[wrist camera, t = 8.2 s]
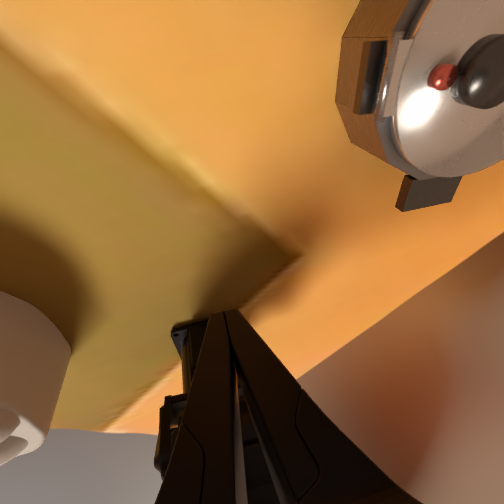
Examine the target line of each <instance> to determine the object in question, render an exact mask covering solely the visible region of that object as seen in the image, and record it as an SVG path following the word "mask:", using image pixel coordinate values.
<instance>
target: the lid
mask: <svg viewBox="0 0 504 504" xmlns="http://www.w3.org/2000/svg"><path fill="white" fill-rule="evenodd" d="M404 34H405V31H395V32H390V33H389V38H388V43H387V48H386V53H385V59H384V64H383V69H382V74H381V79H380V84H379V89H378V94H377V99H376V105H375V110H374V115H373V120H372V123H375V124H382V123H385V119H386V117H387V116H388V117H389V127H390V132H391V136H392V139H393V142H394V144H395V147H396V148H397V150H398V152H399V153H400V155H401V156H402V157H403V158H404V159H405V160H406V161H407V162H408V163H410V164H411V165H413V166H414V167H416V168H418V169H419V170H421V171H423V172H425V173H428V174H430V175H434V176H438V177H457V176H463V175H467V174H471V173H474V172H477V171H480V170H483V169H485V168H487V167H489V166H491V165H494V164H495V163H497V162H499V161H501V160H503V159H504V0H424V2H423V4H422V6H421V7H420V9H419V11H418V13H417V15H416V16H415V18H414V20H413V22H412V24H411V26H410V29H409V31H408V33H407V35H406V37H405V39H403V38H404Z"/></svg>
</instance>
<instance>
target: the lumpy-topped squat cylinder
mask: <svg viewBox="0 0 504 504" xmlns="http://www.w3.org/2000/svg"><path fill="white" fill-rule="evenodd" d="M70 357H71V348H70V345H69V344H68V342H67V341H66V339H65V338H64V336H63V335H62V333H61V332H60V331H59V330H58V328H57V327H56V326H55V325H54V324H53V323H52V322H51V321H50V320H49V319H48V318H47V317H46V316H45V315H44V314H43V313H42V312H41V311H40V310H39V309H37V308H36V307H34V306H33V305H31V304H29V303H27V302H25V301H23V300H21V299H19V298H17V297H14V296H12V295H10V294H7V293H5V292H2V291H0V466H1V465H3V464H5V463H6V462H8V461H10V460H11V459H13V458H14V457H15V456H19V455H23V454H26V453H29V452H31V451H33V450H36V449H37V448H38V447H40V446H41V445H42V444H43V442H44V441H45V439H46V436H47V434H48V431H49V427H50V424H51V421H52V417H53V414H54V411H55V407H56V404H57V401H58V397H59V394H60V390H61V387H62V384H63V380H64V377H65V374H66V370H67V367H68V364H69V360H70Z"/></svg>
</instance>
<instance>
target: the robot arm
mask: <svg viewBox="0 0 504 504" xmlns="http://www.w3.org/2000/svg"><path fill="white" fill-rule="evenodd" d="M171 338H172V340H173V342H174V344H175V346H176V349H177V351H178V353H179V355H180V357H181V359H182V379H183V394H179V395H175V396H172V395H169V396H165V402H164V405H163V406H162V407H161V408H160V422H159V434H158V440H157V446H156V451H155V457H154V466H155V468H156V469H157V470H158V471H159V472H160V473H161V477H162V480H163V482H162V485H161V488H160V491H159V493H158V496H157V499H156V501H155V504H423V503H421V502H420V501H418V500H417V499H415V498H414V497H412V496H411V495H410V494H409V493H407V492H406V491H405V490H404V489H402V488H401V487H400V486H399V485H398V484H396V483H395V482H394V481H393V480H392V479H391V478H390V477H389V476H388V475H386V474H385V473H384V472H383V471H382V470H381V469H380V468H379V467H378V466H377V465H376V464H375V463H374V462H373V461H372V460H371V459H370V458H369V457H368V456H367V455H366V454H365V453H364V452H363V451H362V450H361V449H359V448H358V447H357V446H356V445H355V444H354V443H353V442H352V441H351V440H350V439H349V438H348V437H347V436H346V435H345V434H344V433H343V432H342V431H341V430H340V429H339V428H338V427H337V426H336V425H335V424H334V423H333V422H332V421H331V420H330V419H329V418H328V417H327V416H326V415H325V413H324V412H323V411H322V410H321V409H320V408H319V407H318V405H317V404H316V403H315V402H314V401H313V400H312V399H311V397H310V396H309V395H308V394H307V392H306V391H305V390H304V389H301V385H300V384H299V383H298V382H297V381H296V379H295V378H294V377H293V376H292V374H291V373H290V372H289V371H288V370H287V368H286V367H285V366H284V365H283V364H282V362H281V361H280V360H279V359H278V358H277V356H276V355H275V354H274V353H273V351H272V350H271V349H270V348H269V347H268V345H267V344H266V343H265V342H264V341H263V339H262V338H261V337H260V336H259V335H258V333H257V332H256V331H255V330H254V328H253V327H252V326H251V325H250V324H249V322H248V321H247V320H246V319H245V318H244V316H243V315H242V314H241V313H240V312H239V310H238V309H237V308H235V307H233V308H228V309H225V310H224V312H223V311H222V310H220V311H216V312H212V313H211V314H210V317H209V320H208V321H204V322H200V323H196V324H192V325H188V326H184V327H180V328H176V329H173V330H171Z"/></svg>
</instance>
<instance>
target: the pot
mask: <svg viewBox="0 0 504 504" xmlns="http://www.w3.org/2000/svg"><path fill="white" fill-rule="evenodd" d="M423 2H424V0H361V1H360V3H359V5H358V7H357V9H356V11H355V13H354V15H353V17H352V19H351V21H350V23H349V25H348V27H347V29H346V31H345V33H344V35H343V37H342V43H341V52H340V61H339V70H338V79H337V89H336V98H335V103H336V105H337V108H338V110H339V113H340V115H341V118H342V121H343V123H344V126H345V128H346V131H347V133H348V136H349V138H350V141H351V143H353V144H355V145H357V146H358V147H360V148H362V149H364V150H365V151H367V152H369V153H371V154H373V155H374V156H376V157H378V158H380V159H381V160H383V161H385V162H387V163H389V164H390V165H392V166H394V167H396V168H398V169H400V170H402V171H403V172H405V173H407V174H409V175H405V176H404V179H403V182H402V185H401V189H400V192H399V195H398V199H397V202H396V205H395V207H396V208H397V209H399V210H400V211H402V212H405V211H410V210H415V209H419V208H424V207H429V206H434V205H438V204H443V203H448V202H451V201H452V198H453V196H454V194H455V192H456V189H457V187H458V185H459V183H460V180H461V178H462V176H457V177H438V176H434V175H430V174H428V173H425V172H423V171H421V170H419V169H418V168H416V167H414V166H413V165H411V164H410V163H408V162H407V161H406V160H405V159H404V158H403V157H402V156H401V155H400V153H399V152H398V150H397V148H396V147H395V144H394V142H393V139H392V136H391V132H390V127H389V117H388V116H387V117H386V119H385V123H382V124H375V123H372V120H373V115H374V110H375V105H376V99H377V94H378V89H379V84H380V79H381V74H382V69H383V64H384V59H385V53H386V48H387V43H388V38H389V33H390V32H395V31H405V34H404V38H403V39H405V37H406V35H407V33H408V31H409V29H410V26H411V24H412V22H413V20H414V18H415V16H416V15H417V13H418V11H419V9H420V7H421V6H422V4H423Z"/></svg>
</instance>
